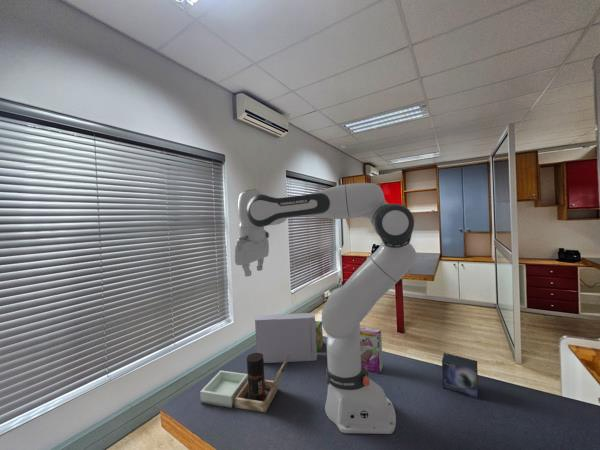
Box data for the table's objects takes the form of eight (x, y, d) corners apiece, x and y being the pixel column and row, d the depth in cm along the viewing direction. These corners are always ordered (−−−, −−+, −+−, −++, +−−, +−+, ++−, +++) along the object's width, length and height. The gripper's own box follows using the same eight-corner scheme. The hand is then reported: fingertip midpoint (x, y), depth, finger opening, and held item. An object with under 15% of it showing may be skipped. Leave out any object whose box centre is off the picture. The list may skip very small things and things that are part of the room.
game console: (317, 361, 110) (315, 317, 110) (257, 364, 111) (254, 320, 110) (316, 354, 116) (314, 312, 116) (259, 356, 117) (257, 315, 116)
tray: (248, 384, 97) (248, 374, 97) (231, 407, 85) (231, 396, 85) (221, 380, 101) (220, 370, 100) (200, 402, 88) (200, 391, 88)
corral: (277, 389, 93) (277, 381, 93) (265, 412, 82) (265, 403, 82) (250, 385, 96) (249, 377, 96) (234, 407, 85) (234, 398, 85)
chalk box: (319, 352, 118) (317, 321, 117) (301, 350, 121) (299, 320, 120) (323, 342, 126) (322, 314, 126) (306, 341, 129) (305, 313, 129)
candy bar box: (353, 367, 105) (351, 329, 104) (357, 361, 109) (355, 324, 109) (380, 374, 99) (378, 334, 98) (383, 368, 103) (381, 329, 103)
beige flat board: (277, 380, 93) (280, 382, 93) (265, 402, 82) (268, 405, 82) (288, 354, 92) (291, 356, 91) (277, 373, 81) (280, 375, 80)
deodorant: (257, 406, 85) (255, 363, 85) (245, 400, 88) (243, 359, 88) (268, 395, 90) (266, 355, 90) (256, 390, 93) (254, 351, 93)
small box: (442, 388, 89) (441, 360, 89) (444, 378, 94) (443, 351, 94) (478, 400, 83) (476, 369, 82) (478, 389, 88) (477, 360, 88)
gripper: (246, 237, 78) (248, 280, 78) (270, 233, 98) (272, 267, 98) (228, 237, 80) (231, 280, 80) (256, 233, 99) (258, 267, 100)
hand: (254, 273), depth 89 cm, fingers open, 8 cm apart
